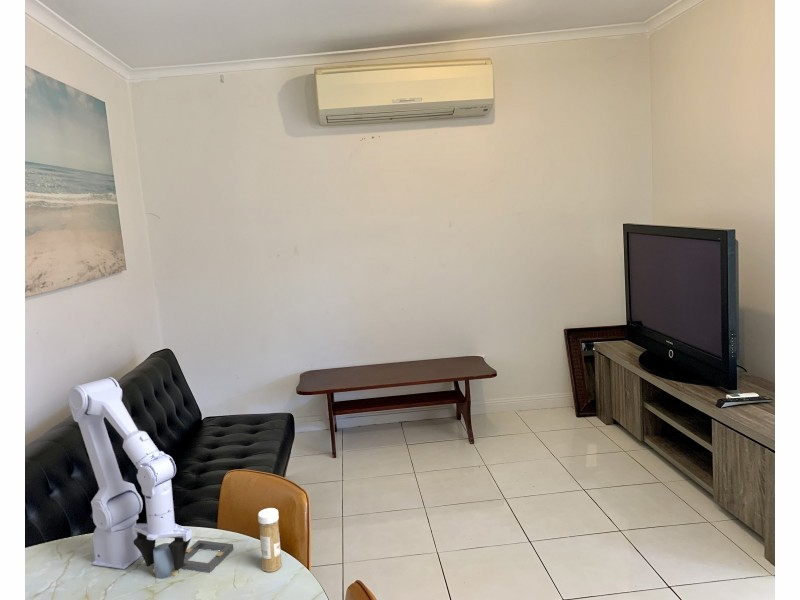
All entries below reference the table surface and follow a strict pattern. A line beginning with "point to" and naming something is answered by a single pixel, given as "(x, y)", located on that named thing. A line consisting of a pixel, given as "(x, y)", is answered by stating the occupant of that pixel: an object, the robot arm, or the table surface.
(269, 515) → the sprinkles bottle
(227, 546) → the collar
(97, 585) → the table surface
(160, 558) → the blue-grey rounded tapered piece
